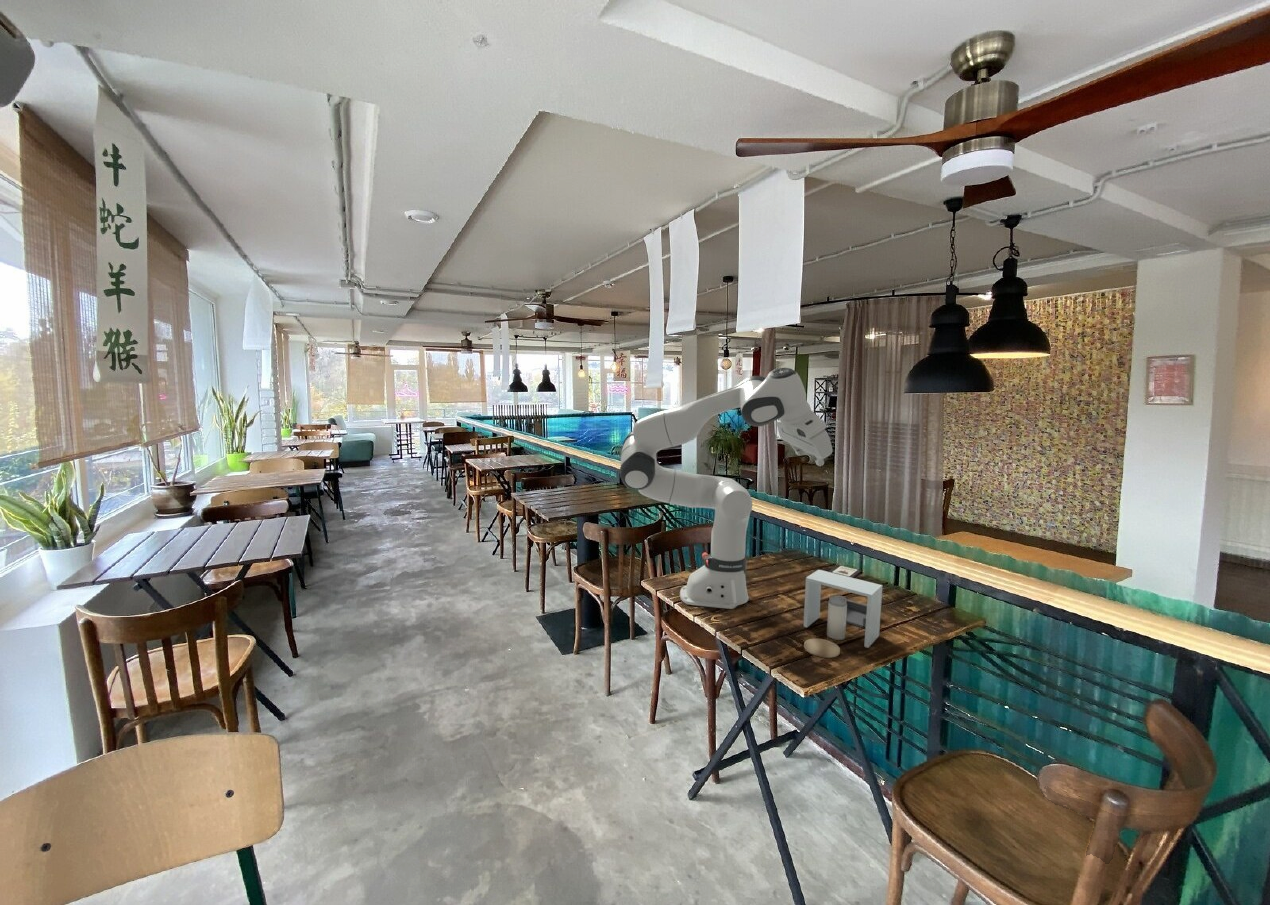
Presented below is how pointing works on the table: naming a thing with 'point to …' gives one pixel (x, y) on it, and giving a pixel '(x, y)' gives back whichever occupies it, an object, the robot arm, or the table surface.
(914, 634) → the table surface
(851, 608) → the tray
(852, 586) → the tunnel
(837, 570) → the chocolate bar
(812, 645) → the coaster
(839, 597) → the shaker
